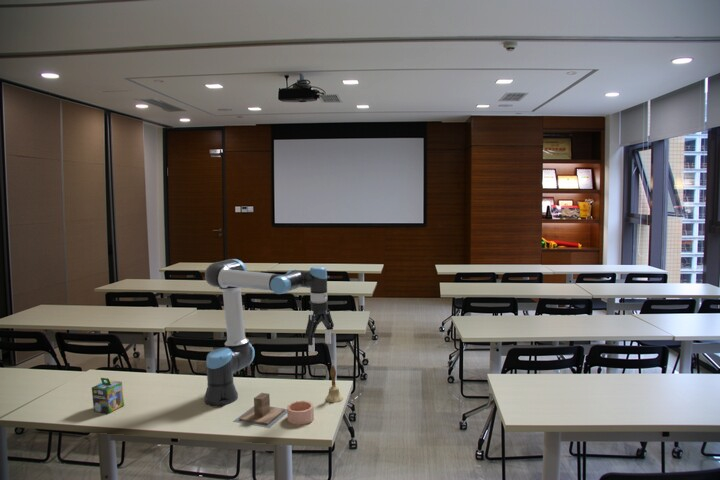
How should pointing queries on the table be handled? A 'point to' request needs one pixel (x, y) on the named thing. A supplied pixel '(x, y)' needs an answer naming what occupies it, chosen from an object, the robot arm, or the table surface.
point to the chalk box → (107, 396)
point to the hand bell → (333, 389)
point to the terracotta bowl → (300, 412)
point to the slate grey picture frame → (261, 424)
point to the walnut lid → (262, 411)
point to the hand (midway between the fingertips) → (320, 347)
